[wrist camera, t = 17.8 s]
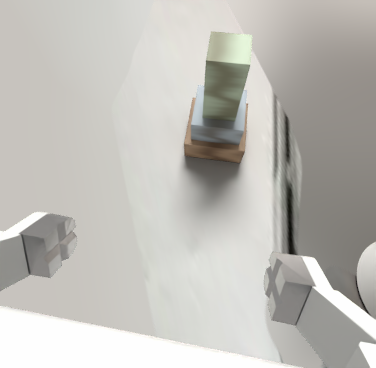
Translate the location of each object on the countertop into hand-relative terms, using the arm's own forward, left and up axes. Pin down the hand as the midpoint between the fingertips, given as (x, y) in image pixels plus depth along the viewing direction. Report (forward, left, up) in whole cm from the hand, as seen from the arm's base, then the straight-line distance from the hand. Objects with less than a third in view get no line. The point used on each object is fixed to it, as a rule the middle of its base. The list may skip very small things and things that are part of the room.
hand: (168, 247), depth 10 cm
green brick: (-2, -25, -19) cm, 31 cm away
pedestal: (-2, -25, -27) cm, 37 cm away
